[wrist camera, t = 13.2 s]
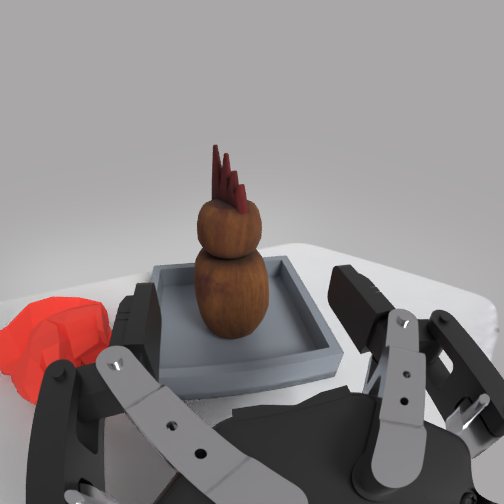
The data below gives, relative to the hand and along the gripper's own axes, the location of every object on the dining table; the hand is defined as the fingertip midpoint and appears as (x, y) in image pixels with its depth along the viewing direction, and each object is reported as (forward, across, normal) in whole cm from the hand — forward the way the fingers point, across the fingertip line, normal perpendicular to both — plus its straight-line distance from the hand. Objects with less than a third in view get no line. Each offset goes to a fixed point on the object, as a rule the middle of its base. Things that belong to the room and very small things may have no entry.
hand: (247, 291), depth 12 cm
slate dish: (+9, 0, +11) cm, 14 cm away
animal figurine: (+5, +18, +11) cm, 21 cm away
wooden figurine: (+9, 0, +10) cm, 13 cm away
